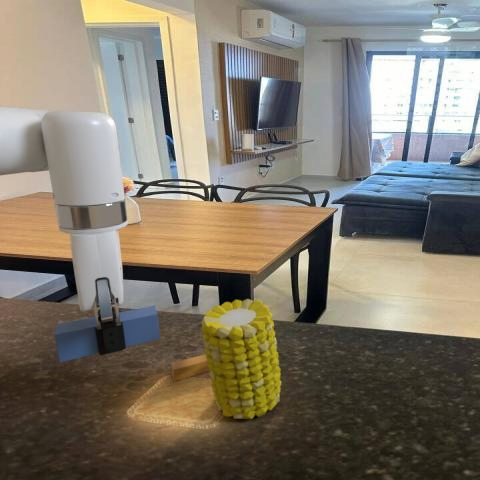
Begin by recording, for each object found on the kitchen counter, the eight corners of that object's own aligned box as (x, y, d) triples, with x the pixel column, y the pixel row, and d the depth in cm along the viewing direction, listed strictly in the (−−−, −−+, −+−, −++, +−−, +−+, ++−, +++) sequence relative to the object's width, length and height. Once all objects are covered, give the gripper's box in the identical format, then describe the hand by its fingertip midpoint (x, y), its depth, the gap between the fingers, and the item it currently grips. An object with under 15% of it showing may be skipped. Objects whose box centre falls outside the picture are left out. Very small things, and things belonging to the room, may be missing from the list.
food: (285, 425, 52) (209, 437, 50) (277, 359, 62) (213, 367, 60) (282, 343, 44) (193, 354, 43) (274, 284, 54) (201, 290, 53)
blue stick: (157, 329, 57) (154, 305, 56) (160, 339, 54) (157, 314, 53) (61, 351, 51) (56, 324, 50) (59, 362, 49) (54, 334, 47)
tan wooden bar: (174, 381, 58) (172, 370, 57) (171, 374, 59) (170, 363, 59) (249, 359, 64) (249, 349, 63) (245, 353, 65) (245, 343, 65)
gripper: (61, 205, 53) (81, 325, 58) (51, 234, 39) (79, 387, 44) (122, 201, 56) (135, 314, 61) (132, 226, 43) (149, 368, 48)
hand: (111, 343), depth 53 cm, fingers closed on blue stick, 3 cm apart
